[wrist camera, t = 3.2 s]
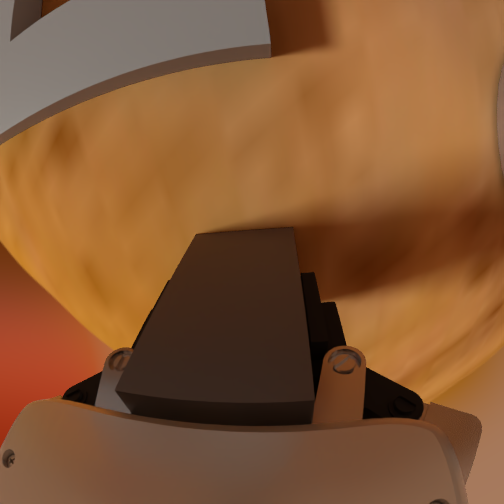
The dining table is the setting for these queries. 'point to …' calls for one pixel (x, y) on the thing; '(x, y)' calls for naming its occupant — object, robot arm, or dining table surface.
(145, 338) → the plug
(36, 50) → the socket plate
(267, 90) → the dining table surface
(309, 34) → the dining table surface
